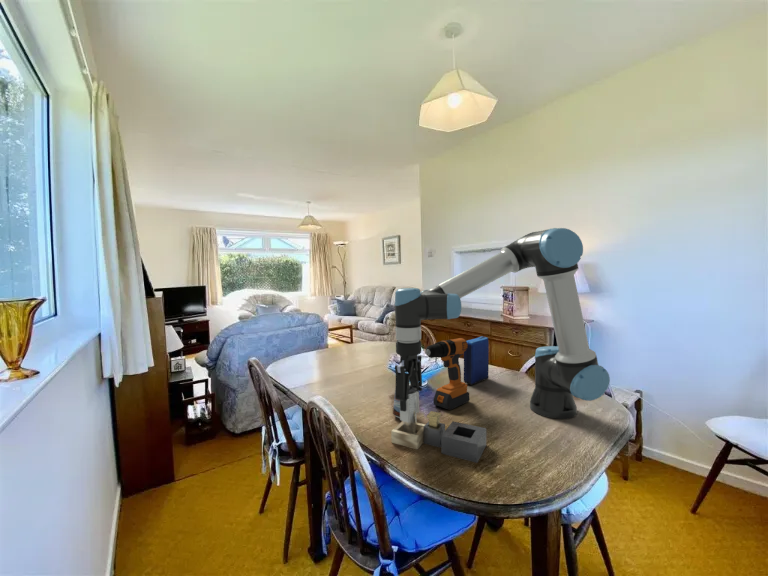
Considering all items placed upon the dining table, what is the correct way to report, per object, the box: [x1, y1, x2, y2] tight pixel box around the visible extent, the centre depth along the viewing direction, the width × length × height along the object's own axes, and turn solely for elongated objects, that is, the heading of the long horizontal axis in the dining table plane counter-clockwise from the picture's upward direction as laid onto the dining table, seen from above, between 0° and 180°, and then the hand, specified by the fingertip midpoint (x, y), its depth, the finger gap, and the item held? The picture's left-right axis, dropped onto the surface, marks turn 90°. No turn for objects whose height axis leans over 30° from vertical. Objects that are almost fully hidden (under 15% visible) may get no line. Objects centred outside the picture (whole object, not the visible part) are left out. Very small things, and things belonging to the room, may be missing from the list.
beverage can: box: [392, 382, 411, 419], centre depth 121 cm, size 6×7×12 cm
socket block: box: [423, 420, 487, 464], centre depth 99 cm, size 16×10×6 cm, turn 60°
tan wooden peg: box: [426, 410, 442, 429], centre depth 101 cm, size 3×3×8 cm
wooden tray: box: [390, 420, 426, 450], centre depth 103 cm, size 8×8×4 cm
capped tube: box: [403, 385, 418, 435], centre depth 103 cm, size 4×4×16 cm
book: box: [463, 335, 490, 386], centre depth 155 cm, size 14×5×20 cm, turn 130°
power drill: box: [424, 337, 471, 411], centre depth 129 cm, size 22×7×25 cm, turn 129°
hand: (409, 415), depth 103 cm, fingers open, 6 cm apart
